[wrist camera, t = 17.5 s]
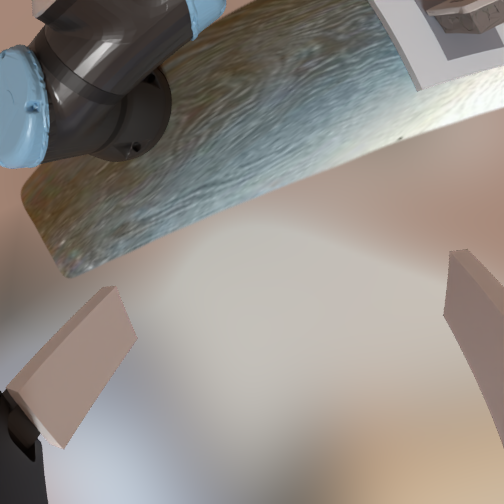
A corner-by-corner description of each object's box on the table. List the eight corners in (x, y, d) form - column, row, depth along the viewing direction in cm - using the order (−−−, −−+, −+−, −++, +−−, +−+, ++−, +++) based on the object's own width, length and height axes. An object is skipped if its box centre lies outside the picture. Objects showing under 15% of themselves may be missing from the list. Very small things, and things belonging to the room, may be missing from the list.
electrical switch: (466, -8, 24) (500, -25, 16) (487, 24, 25) (525, 13, 17) (422, 12, 27) (453, -8, 19) (445, 45, 28) (481, 34, 20)
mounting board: (417, 91, 33) (422, 89, 31) (359, -12, 29) (361, -19, 27) (526, 60, 27) (534, 58, 24) (476, -32, 23) (482, -37, 21)
